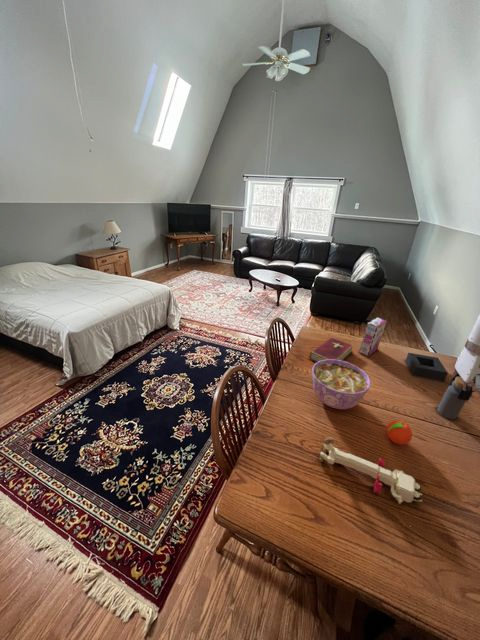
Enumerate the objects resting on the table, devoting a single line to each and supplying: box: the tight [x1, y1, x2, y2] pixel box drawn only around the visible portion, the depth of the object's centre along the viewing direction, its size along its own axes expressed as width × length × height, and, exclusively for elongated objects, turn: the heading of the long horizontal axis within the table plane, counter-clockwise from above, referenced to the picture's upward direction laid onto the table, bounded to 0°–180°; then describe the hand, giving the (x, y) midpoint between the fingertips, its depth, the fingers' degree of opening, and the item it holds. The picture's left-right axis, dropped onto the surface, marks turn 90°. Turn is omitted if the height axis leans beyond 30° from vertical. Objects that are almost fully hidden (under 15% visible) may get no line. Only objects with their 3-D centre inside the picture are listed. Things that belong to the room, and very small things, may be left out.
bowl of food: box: [311, 359, 372, 410], centre depth 98 cm, size 20×20×12 cm
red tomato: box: [385, 420, 413, 446], centre depth 83 cm, size 8×7×7 cm
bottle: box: [436, 377, 472, 420], centre depth 93 cm, size 6×6×15 cm
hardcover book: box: [309, 336, 355, 363], centre depth 127 cm, size 12×21×4 cm, turn 137°
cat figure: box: [318, 436, 423, 505], centre depth 71 cm, size 10×9×25 cm
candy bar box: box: [358, 317, 387, 357], centre depth 130 cm, size 11×5×16 cm, turn 133°
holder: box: [405, 352, 449, 382], centre depth 119 cm, size 12×12×4 cm
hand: (458, 392), depth 92 cm, fingers closed on bottle, 5 cm apart
